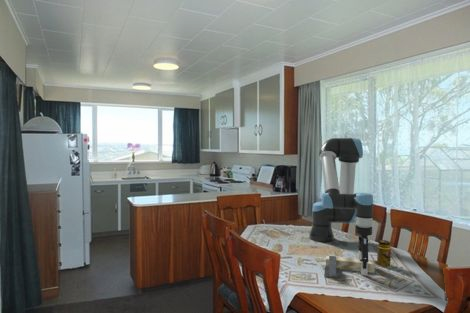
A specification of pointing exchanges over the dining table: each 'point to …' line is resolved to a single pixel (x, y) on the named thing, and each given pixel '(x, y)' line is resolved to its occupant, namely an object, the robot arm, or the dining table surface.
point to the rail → (332, 269)
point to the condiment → (383, 254)
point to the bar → (351, 264)
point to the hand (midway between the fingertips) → (362, 269)
